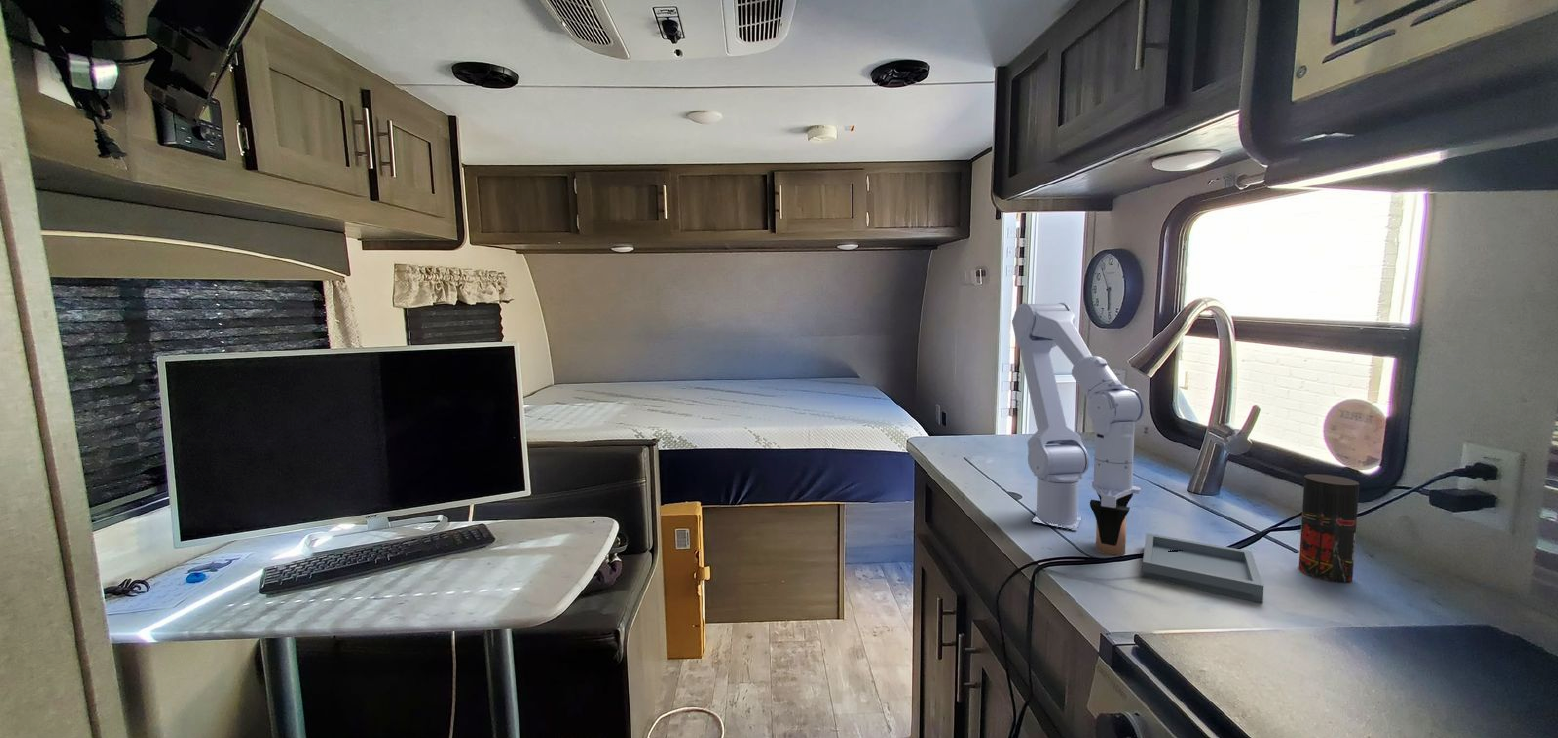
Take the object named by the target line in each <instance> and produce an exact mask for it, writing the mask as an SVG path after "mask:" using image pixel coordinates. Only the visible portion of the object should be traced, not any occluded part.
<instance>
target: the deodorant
mask: <svg viewBox="0 0 1558 738" xmlns="http://www.w3.org/2000/svg"><path fill="white" fill-rule="evenodd" d="M1302 490H1303V491H1302V492H1303V493H1302V504H1301V505H1302V506H1301V507H1302V508H1301V522H1300V523H1301V524H1300V534H1299V535H1300V537H1299V538H1300V540H1299V551H1298V552H1299V553H1298V567H1297V568H1298V570H1299V572H1300V573H1303V574H1304V575H1307V576H1308V577H1312V578H1315V579H1318V580H1321V581H1325V582H1326V581H1327V582H1330V583H1337V584H1347V583H1352V581H1353V580H1354V579H1353V575H1354V564H1355V563H1354V562H1355V549H1356V535H1357V521H1358V509H1359V496H1360V495H1359V493H1360V482H1358V481H1356V480H1353V479H1351V478H1346V477H1343V476H1341V477H1340V476H1335V475H1331V474H1330V475H1329V474H1316V473H1315V474H1314V473H1313V474H1312V473H1311V474H1310V473H1309V474H1305V475H1304V476H1303V489H1302Z"/></svg>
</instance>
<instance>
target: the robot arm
mask: <svg viewBox="0 0 1558 738" xmlns="http://www.w3.org/2000/svg"><path fill="white" fill-rule="evenodd" d="M1075 322H1076V314H1075V313H1074V312H1073V311H1072V308H1071V307H1070V305H1069V304H1068V303H1066V302H1058V303H1026V302H1023V303H1021V304H1019V305H1018V306H1017V307H1016V309H1015V311H1014V315H1013V317H1012V320H1011V325H1012V329H1013V333H1014V338H1015V342H1016V346H1017V347H1018V348H1019V352H1020V356H1021V361H1022V365H1023V371H1024V374H1025V375H1024V376H1025V378H1026V384H1027V389H1028V393H1029V397H1030V402H1031V406H1032V411H1033V414H1034V415H1033V416H1034V419H1035V423H1036V427H1037V428H1036V429H1037V431H1036V432H1035V433H1034V434H1033V435H1032V436H1031V437H1030V438H1029V439H1028V440H1027V443H1026V444H1027V449H1028V455H1027V464H1028V466H1029V469H1030V470H1031V472H1032V474H1033V476H1035V477H1037V479H1036V480H1037V483H1036V485H1037V486H1036V489H1037V490H1036V512H1037V517H1038V518H1039V519H1040V520H1043V521H1045V522H1048V523H1051V524H1052V523H1053V524H1058V526H1061V525H1062V527H1065V528H1071V529H1077V530H1078V528H1079V526H1078V524H1079V523H1078V522H1077V520H1081V521H1082V519H1081V517H1077V514H1078V505H1079V503H1078V499H1079V480H1082V479H1083V475H1084V474H1086V473H1087V471H1088V470H1089V467H1090V455H1089V453H1088V451H1087V449H1086V448H1085V446H1084V444H1083V442H1082V439H1081V435H1079V434H1078V433H1077V432H1076V431H1074V430H1072V429H1071V428H1069V427H1068V426H1067V422H1066V417H1065V413H1064V410H1063V406H1062V405H1063V404H1062V402H1061V396H1060V392H1059V389H1058V388H1059V387H1058V384H1057V380H1056V375H1055V372H1054V367H1053V364H1052V358H1051V355H1050V354H1051V353H1050V352H1051V350H1052V349H1054V348H1055V347H1056V346H1057V347H1058V348H1059V349H1060V350H1061V351H1062V353H1063V354H1064V355H1065V356H1066V358H1067V359H1068V361H1070V363H1071V364H1072V365H1073V367H1072V369H1071V375H1072V377H1073V378H1074V380H1075V382H1076V383H1077V384H1078V386H1079V388H1080V389H1081V391H1082V392H1083V393H1084V395H1085V396H1086V398H1087V400H1088V401H1089V403H1088V404H1087V412H1088V415H1089V417H1090V419H1091V429H1092V431H1093V433H1094V455H1093V456H1094V457H1093V481H1092V483H1091V487H1092V489H1094V491H1095V492H1096V494H1097V495H1098V499H1099V500H1098V499H1097V500H1096V499H1090V501H1089V507H1090V509H1091V511H1092V513H1093V515H1094V517H1095V520H1096V522H1097V524H1098V530H1099V535H1100V540H1101V543H1102V544H1108V545H1113V546H1116V544H1117V541H1118V537H1119V532H1120V528H1121V524H1122V522H1123V520H1124V518H1125V517H1126V516H1127V515H1128V514H1129V512H1130V509H1131V507H1130V506H1128V504H1129V502H1130V500H1131V499H1132V498H1133V496H1134V494H1141V489H1142V488H1141V487H1139V486H1135V485H1133V481H1134V479H1133V478H1134V477H1133V475H1134V456H1135V455H1134V453H1135V451H1134V450H1135V431H1136V430H1135V426H1136V423H1137V422H1138V421H1140V420H1141V419H1142V418H1143V416H1144V413H1145V402H1144V399H1143V398H1142V396H1141V394H1140V392H1139V391H1138V390H1136V389H1133V388H1129V387H1128V386H1127V385H1125V384H1122V383H1121V381H1120V380H1119V378H1118V377H1117V376H1116V375H1115V373H1114V372H1113V370H1112V369H1111V368H1110V366H1109V365H1108V364H1109V363H1108V361H1107V360H1106V359H1105V358H1102V357H1101V356H1097V355H1095V356H1094V355H1092V353H1091V352H1090V350H1089V348H1088V346H1087V345H1086V343H1085V342H1084V339H1083V338H1082V336H1081V334H1080V332H1079V331H1078V329H1077V328H1076V326H1075ZM1079 525H1080V524H1079ZM1077 527H1078V528H1077Z"/></svg>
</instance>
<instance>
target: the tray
mask: <svg viewBox="0 0 1558 738" xmlns="http://www.w3.org/2000/svg"><path fill="white" fill-rule="evenodd" d="M1170 550H1171V551H1172V550H1183V551H1178V552H1168V551H1170ZM1142 578H1144V579H1149V580H1153V581H1158V582H1162V583H1167V584H1171V585H1177V586H1181V587H1185V588H1190V589H1195V590H1199V591H1205V592H1208V593H1214V594H1219V595H1223V596H1227V597H1230V598H1231V597H1232V598H1237V599H1241V600H1246V601H1251V602H1255V603H1260V604H1263V600H1264V584H1263V581H1262V578H1261V575H1260V572H1259V568H1258V566H1257V563H1256V561H1255V558H1254V554H1253V551H1250V550H1244V549H1240V548H1239V549H1238V548H1234V547H1233V548H1232V547H1229V546H1228V547H1227V546H1221V545H1216V544H1210V543H1204V542H1199V541H1193V540H1189V539H1188V540H1187V539H1182V538H1177V537H1170V536H1165V535H1158V534H1155V533H1147V532H1146V536H1145V543H1144V551H1143V557H1142Z"/></svg>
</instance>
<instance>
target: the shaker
mask: <svg viewBox="0 0 1558 738" xmlns="http://www.w3.org/2000/svg"><path fill="white" fill-rule="evenodd" d="M1095 525H1096V526H1095V550H1096V549H1097V552H1099V551H1100V553H1102V554H1104V555H1109V556H1116V557H1117V556H1121V557H1122V556H1124V555H1125V554H1126V539H1127V517H1126V516H1125V518H1124V520H1123V522H1122V524H1121V528H1120V532H1119V537H1118V541H1117V544H1116V546H1113V545H1108V544H1102V543H1101V540H1100V535H1099V530H1098V524H1097V521H1096V524H1095Z"/></svg>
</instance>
